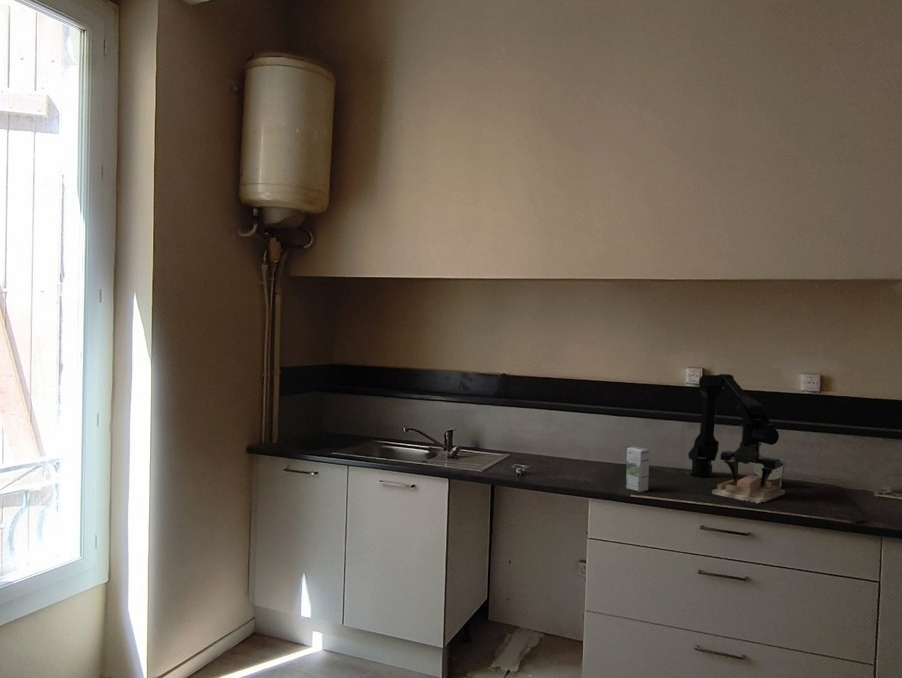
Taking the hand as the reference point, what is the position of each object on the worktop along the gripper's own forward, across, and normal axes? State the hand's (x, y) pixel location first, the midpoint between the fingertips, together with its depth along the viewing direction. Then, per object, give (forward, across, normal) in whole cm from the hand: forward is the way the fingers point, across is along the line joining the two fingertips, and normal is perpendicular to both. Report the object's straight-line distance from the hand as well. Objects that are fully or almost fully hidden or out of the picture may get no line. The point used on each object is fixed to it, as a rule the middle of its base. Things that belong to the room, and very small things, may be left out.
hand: (748, 484), depth 228 cm
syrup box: (+4, -27, -28) cm, 39 cm away
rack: (+3, 0, 0) cm, 3 cm away
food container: (+4, -1, +22) cm, 22 cm away
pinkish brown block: (+2, 0, 0) cm, 2 cm away
